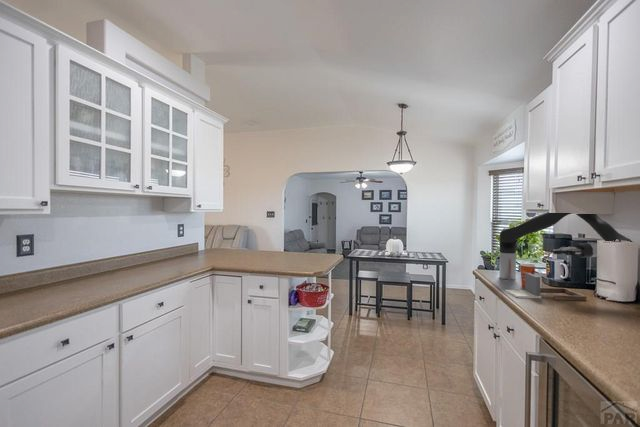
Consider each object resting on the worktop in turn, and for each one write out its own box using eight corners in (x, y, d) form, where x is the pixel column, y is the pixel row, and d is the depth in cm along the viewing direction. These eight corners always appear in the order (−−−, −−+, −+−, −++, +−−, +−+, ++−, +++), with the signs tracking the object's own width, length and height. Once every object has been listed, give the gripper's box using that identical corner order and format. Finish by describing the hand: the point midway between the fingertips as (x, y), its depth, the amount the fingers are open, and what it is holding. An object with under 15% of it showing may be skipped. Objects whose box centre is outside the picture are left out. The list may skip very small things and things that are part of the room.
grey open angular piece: (505, 291, 172) (505, 272, 172) (527, 292, 171) (527, 272, 171) (517, 298, 160) (517, 277, 160) (541, 298, 159) (541, 277, 159)
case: (536, 291, 173) (536, 287, 173) (564, 291, 172) (564, 288, 171) (555, 299, 157) (555, 295, 157) (586, 300, 156) (586, 296, 156)
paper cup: (516, 285, 185) (517, 262, 184) (524, 284, 188) (525, 261, 188) (530, 288, 178) (530, 264, 177) (538, 287, 181) (538, 263, 180)
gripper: (579, 241, 169) (545, 243, 171) (598, 245, 156) (561, 247, 158) (579, 254, 169) (546, 256, 171) (598, 259, 156) (562, 261, 158)
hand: (553, 252), depth 165 cm, fingers closed
